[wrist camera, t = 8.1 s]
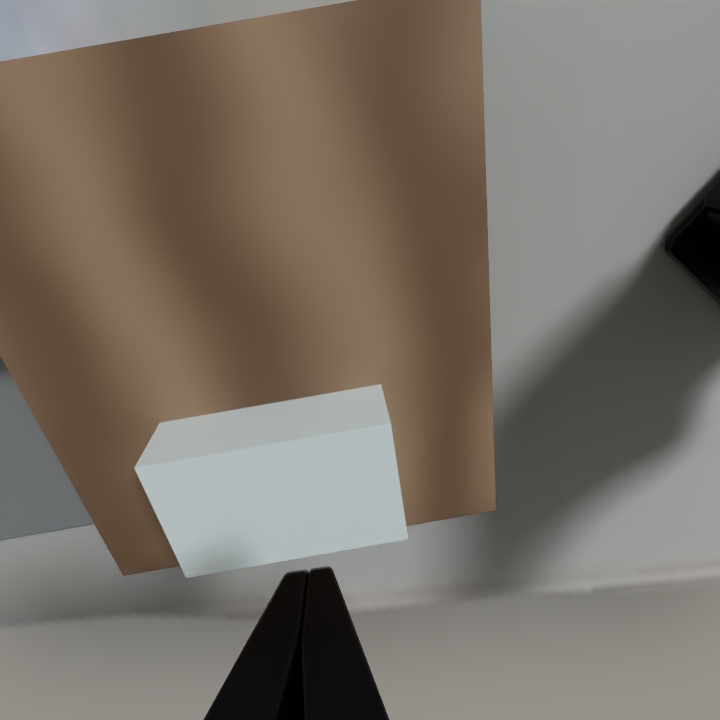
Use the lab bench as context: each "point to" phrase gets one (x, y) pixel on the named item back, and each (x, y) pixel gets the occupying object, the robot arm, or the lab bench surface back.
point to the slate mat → (31, 472)
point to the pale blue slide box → (276, 481)
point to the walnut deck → (252, 243)
